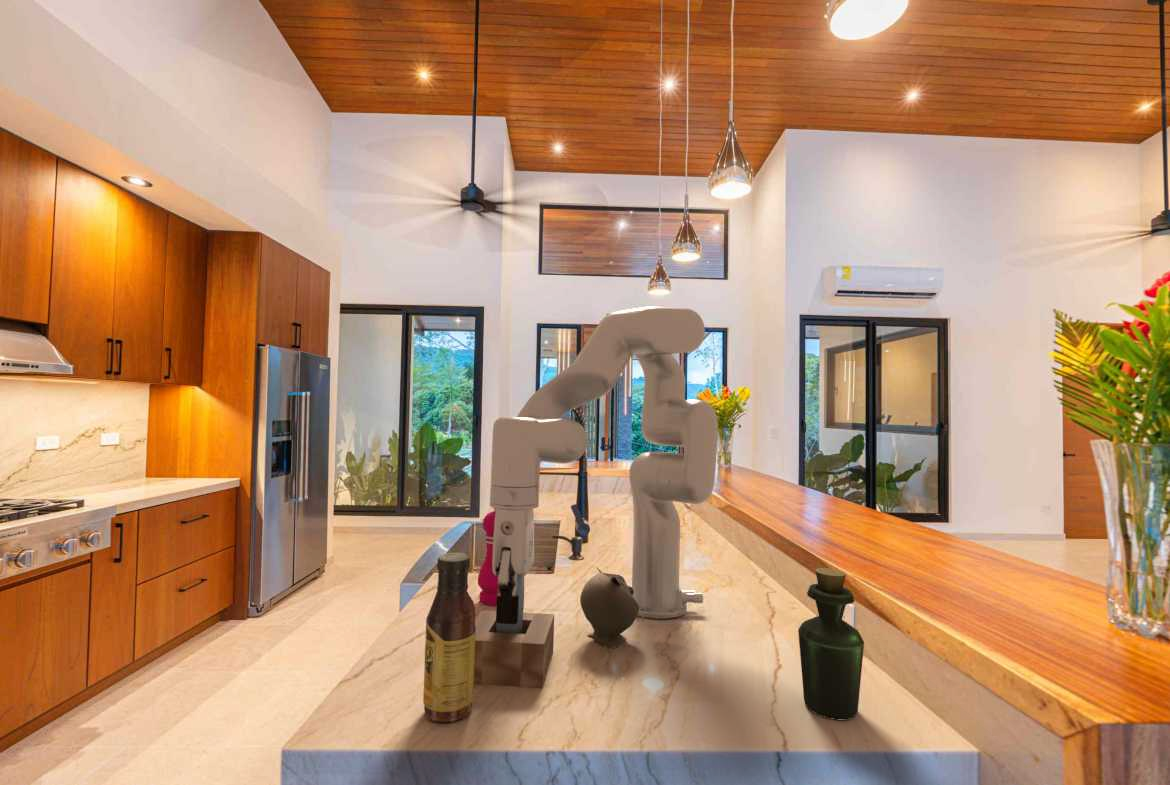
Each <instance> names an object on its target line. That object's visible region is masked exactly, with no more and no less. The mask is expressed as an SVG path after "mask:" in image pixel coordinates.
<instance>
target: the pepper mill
mask: <svg viewBox="0 0 1170 785" xmlns="http://www.w3.org/2000/svg"><path fill="white" fill-rule="evenodd" d="M495 514H496V508H493V511H490V512H488V513H487V514H486V515H485V516H484V518H483V520H482V528H483V529H482V530H483V531H485V533H486V534H485V535H484V542H485V544H486V553H485V554H486V555H485V558H484V561H483V563H482V565H481V567H480V570H479V573H478V576H477V584H478V586H479V587H480V589H481V591H480V592H479V603H480V604H482V605H483V604H484V606H488V605H489V607H497V591H498V576H496V575H495V574H494V573H493V568H492V559H493V539H494V525H495V523H494V522H495Z"/></svg>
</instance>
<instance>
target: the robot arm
mask: <svg viewBox="0 0 1170 785" xmlns="http://www.w3.org/2000/svg"><path fill="white" fill-rule="evenodd" d="M705 327H706V326H705V323H704V321H703V319H702V317H701V315H700V314H698V312H696V311H695V310H693V309H691V308H685V307H684V308H683V307H682V308H679V307H666V306H664V307H663V306H662V307H661V306H644V307H638V308H637V307H636V308H631V309H625V310H618V311H614V312H611V313H608V314H607V315H605V316H604V317H603V318H602V319H601V320H600V322H599V323H598V324H597V326H596V328H595V329H594V331H593V332H592V333H591V335H590V336H589V337H588V340H587V341H586V343H585V344H584V346H583V347H582V349H581V350H580V352H579V353H578V354H577V356H576V358H575V359H574V361H573V362H572V363H571V364H570V365H569V366H568V367H566V368H565V369H564V370H562V371H561V372H559V373H558V374H556V375H555V376H554V377H552V378H551V379H550V380H549V381H547V382H546V383H545V384H543V385H542V386H541V387H540V388H538V390H537V391H535V392H534V393H533V394H532V395H531V396H530V398H528V399H527V401H526V402H525V404H524V406H523V407H522V408H521V410H520V411H519V413H518V415H517V416H502V417H499V418H497V419H496V420H495V421H494V423H493V425H492V440H491V441H492V444H491V467H490V469H491V470H490V471H491V472H490V487H489V488H490V490H489V491H490V492H489V507H490V508H492V509H494V508H496V514H495V522H494V523H495V525H494V539H493V559H492V568H493V573H494V574H495V575H496V576H498V575H499V578H498V591H497V606H495V607H496V610H495V611H496V622H497V623H500V624H517V622H518V605H519V596H517V585H518V575H520V577H524V578H525V577H526V575H527V574H528V573H529V571H530V570H531V569H532V567H533V565H534V561H535V513H534V511H535V510H534V509H537V508H539V506H540V504H539V503H540V501H539V500H540V479H541V478H540V477H541V476H540V475H541V474H540V472H541V471H540V470H541V469H540V468H541V463H542V462H543V463H544V462H546V463H552V464H562V465H563V464H570V463H573V462H575V461H577V460H579V459H580V458H581V457H582V456H583V455H584V453H585V452H586V449H587V447H588V441H589V440H588V439H589V438H588V434H587V432H586V429H585V428H584V426H583V425H582V424H580V422H578V421H577V420H575V419H571V418H570V417H569V418H568V417H564V416H565V415H566V414H567V413H569V412H571V411H572V410H574V409H577V408H579V407H581V406H583V405H587V404H588V403H591V402H594V401H596V400H599V399H600V398H602V397H604V396H606V395H608V394H609V393H610V392H611V391H612V390H613V389H614V387H615V385H616V383H617V382H618V380H619V378H620V376H621V374H622V373H623V371H624V370H625V368H626V367H627V365H628V363H629V362H630V359H631V358H632V357H633V356H635V358H636V359H637V362H638V363H639V364H640V367H641V370H642V372H643V376H644V390H643V402H642V410H641V411H642V412H641V435H642V437H643V440H645V441H646V443H647V442H648V443H649V444H652V445H655V446H666V447H677V448H679V447H681V448H683V453H676V452H675V453H674V452H667V451H647V452H643V453H640V454H639V455H637V456H636V457H635V458H634V459H633V460H632V462H631V464H630V467H629V476H628V477H629V484H630V485H629V486H630V490H631V497H632V507H633V509H632V511H633V524H632V525H633V526H632V527H633V530H632V533H633V534H632V568H631V569H632V574H631V575H632V577H631V578H632V579H631V580H632V581H631V582H632V583H631V587H632V588H633V590H634V594H633V595H632V596H633V598H634V599H635V600H636V602H637V603H638V605H639V612H638V615H637V617H638V616H639V617H642V618H647V619H655V620H656V619H657V620H658V619H659V620H661V619H662V620H664V619H665V620H666V619H673V618H675V619H676V618H678V617H681V616H683V615H685V614H686V613H687V607H688V605H687V604H688V603H693V604H703V603H704V595H703V592H696V590H693V589H692V590H691V589H690V590H689V589H688V590H687V589H686V590H684V589H683V588H682V587H681V584H680V556H681V555H680V554H681V553H680V552H681V549H680V548H681V520H680V519H681V518H680V515H679V513H678V510H677V508H676V506H675V503H674V502H678V503H684V504H693V505H694V504H695V505H697V504H702V503H705V502H707V501H708V499H709V498H710V497H711V495H712V493H713V491H714V486H715V477H716V467H717V466H716V464H717V455H718V454H717V451H718V440H719V439H718V437H719V422H718V417H717V414H716V412H715V409H714V407H713V406H712V405H711V404H710V403H709V402H707V401H705V400H703V399H702V400H701V399H686V398H685V396H686V376H685V372H684V370H683V368H682V365H681V364H680V363H679V361H678V360H677V359H676V358H675V356H674V355H675V354H686V353H687V354H688V353H691V352H694V351H696V350H697V349H699V348H700V347H701V345H702V344H703V342H704V339H705V335H706V334H705V333H706V329H705ZM673 354H674V355H673ZM499 563H500V565H499ZM510 571H515V574H509V572H510ZM509 579H513V584H512V582H509ZM524 606H525V601H524V602H523V611H524V609H525V608H524Z"/></svg>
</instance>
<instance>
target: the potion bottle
mask: <svg viewBox="0 0 1170 785" xmlns="http://www.w3.org/2000/svg"><path fill="white" fill-rule="evenodd" d="M814 571H815V576H816V580H817V583H813V584H810V585H809V587H808V589H807V593H806V595H807V597H808V598H810V599H811V600H813V601H815V605H816V609H817V612H818V615H817V616H814V617H812V618H809V619H807V620H804V621H803V622H802V623H801V625H800V627H798V629H797V630H798V631H797V633H798V642H799V644H798V645H799V655H800V666H801V667H800V669H801V678H802V689H803V690H802V691H803V701H804V704H805V705H807V706H808V707H807V706H806V707H807V708H808V709H809V710H810V711H811V710H812V711H814V712H816V713H817V714H819V715H822V716H825V717H828V718H833V719H849V718H852V717H854V718H855V717H856V715H857V714H858V712H859V701H860V692H861V691H860V690H861V682H862V681H861V680H862V679H861V678H862V670H863V669H862V668H863V659H864V647H865V642H864V639H863V637H862V635H861V634H860V632H859V630H858V629H857V628H855V627H853V626H852V625H851V624H850V623H848V622H846V621H845V620H843V617H844V613H845V611H846V610H845V609H846V606H847V605H850V604H853V603H854V602H855V599H854V596H853V595H854V594H853V592H852V591H851V589H849V588H847V587H845V585H844V584H845V580H846V576H847V574H846V571H845V572H844V571H842V570H840V569H835V568H827V567H820V568H816V569H815V570H814ZM812 711H811V712H812ZM814 712H813V713H814ZM816 713H815V714H816ZM817 714H816V715H817ZM819 715H818V716H819ZM822 716H821V717H822ZM825 717H824V718H825ZM828 718H827V719H828ZM833 719H832V720H833ZM852 719H853V718H852ZM849 720H850V719H849Z"/></svg>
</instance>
